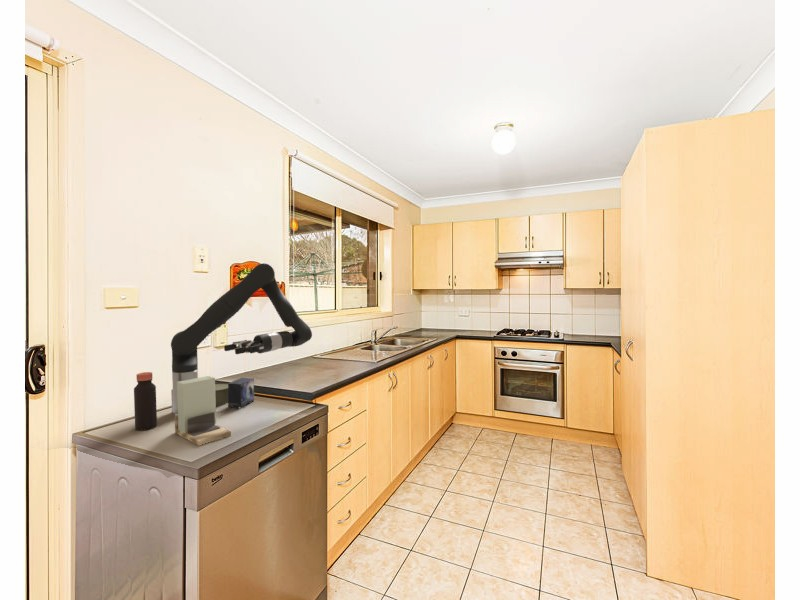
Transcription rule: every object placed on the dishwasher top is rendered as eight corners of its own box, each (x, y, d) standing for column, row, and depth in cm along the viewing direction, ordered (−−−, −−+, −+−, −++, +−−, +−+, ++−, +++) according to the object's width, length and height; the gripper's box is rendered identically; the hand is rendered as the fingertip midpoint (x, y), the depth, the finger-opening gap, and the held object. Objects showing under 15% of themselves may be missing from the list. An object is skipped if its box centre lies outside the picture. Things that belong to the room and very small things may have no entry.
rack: (175, 432, 140) (174, 414, 140) (206, 424, 149) (206, 407, 148) (198, 445, 129) (198, 426, 129) (230, 435, 137) (230, 417, 137)
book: (178, 429, 139) (176, 381, 138) (209, 421, 148) (208, 376, 147) (184, 433, 136) (183, 384, 135) (216, 423, 145) (215, 377, 144)
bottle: (161, 425, 148) (159, 372, 147) (144, 431, 141) (142, 376, 141) (147, 423, 150) (145, 371, 149) (130, 429, 143) (128, 375, 143)
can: (227, 405, 172) (227, 389, 171) (198, 406, 170) (197, 391, 169) (234, 397, 183) (234, 382, 183) (207, 398, 182) (206, 384, 181)
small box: (241, 408, 167) (240, 383, 167) (227, 407, 169) (226, 383, 168) (255, 401, 178) (254, 377, 177) (242, 400, 179) (241, 377, 179)
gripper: (258, 331, 168) (220, 338, 155) (277, 335, 158) (238, 342, 146) (259, 349, 168) (221, 356, 156) (278, 353, 159) (240, 362, 147)
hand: (230, 350), depth 151 cm, fingers open, 8 cm apart
